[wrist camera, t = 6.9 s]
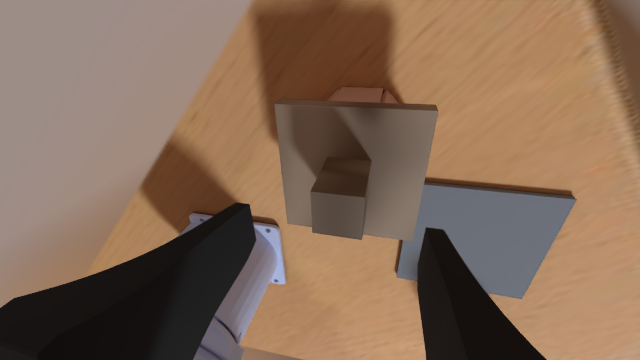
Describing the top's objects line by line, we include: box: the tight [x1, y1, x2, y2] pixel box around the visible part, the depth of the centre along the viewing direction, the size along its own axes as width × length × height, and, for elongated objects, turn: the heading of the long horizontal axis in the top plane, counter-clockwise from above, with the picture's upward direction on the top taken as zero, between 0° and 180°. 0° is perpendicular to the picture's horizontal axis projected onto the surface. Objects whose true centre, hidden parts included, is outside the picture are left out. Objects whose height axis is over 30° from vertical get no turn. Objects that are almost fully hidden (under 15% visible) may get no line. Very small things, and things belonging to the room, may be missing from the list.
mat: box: [397, 182, 576, 299], centre depth 21 cm, size 10×10×1 cm
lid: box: [274, 99, 438, 242], centre depth 14 cm, size 8×8×4 cm
